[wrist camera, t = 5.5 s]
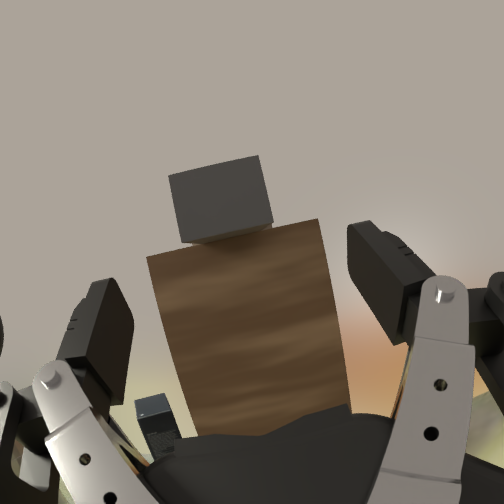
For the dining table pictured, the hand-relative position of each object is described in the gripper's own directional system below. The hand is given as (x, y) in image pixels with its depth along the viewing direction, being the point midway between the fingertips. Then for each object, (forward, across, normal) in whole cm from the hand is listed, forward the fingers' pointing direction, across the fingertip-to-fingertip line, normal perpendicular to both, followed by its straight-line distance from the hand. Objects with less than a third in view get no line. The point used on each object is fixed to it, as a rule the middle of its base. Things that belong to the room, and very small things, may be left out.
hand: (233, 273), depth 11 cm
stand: (0, 0, +35) cm, 35 cm away
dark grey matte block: (+12, 0, +5) cm, 13 cm away
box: (+14, +18, +44) cm, 50 cm away
